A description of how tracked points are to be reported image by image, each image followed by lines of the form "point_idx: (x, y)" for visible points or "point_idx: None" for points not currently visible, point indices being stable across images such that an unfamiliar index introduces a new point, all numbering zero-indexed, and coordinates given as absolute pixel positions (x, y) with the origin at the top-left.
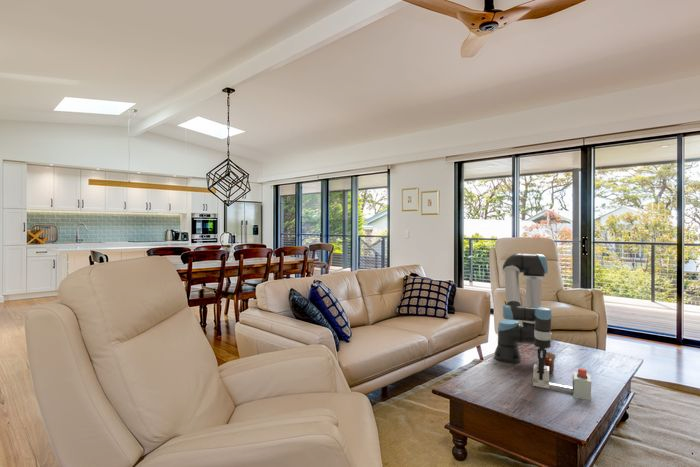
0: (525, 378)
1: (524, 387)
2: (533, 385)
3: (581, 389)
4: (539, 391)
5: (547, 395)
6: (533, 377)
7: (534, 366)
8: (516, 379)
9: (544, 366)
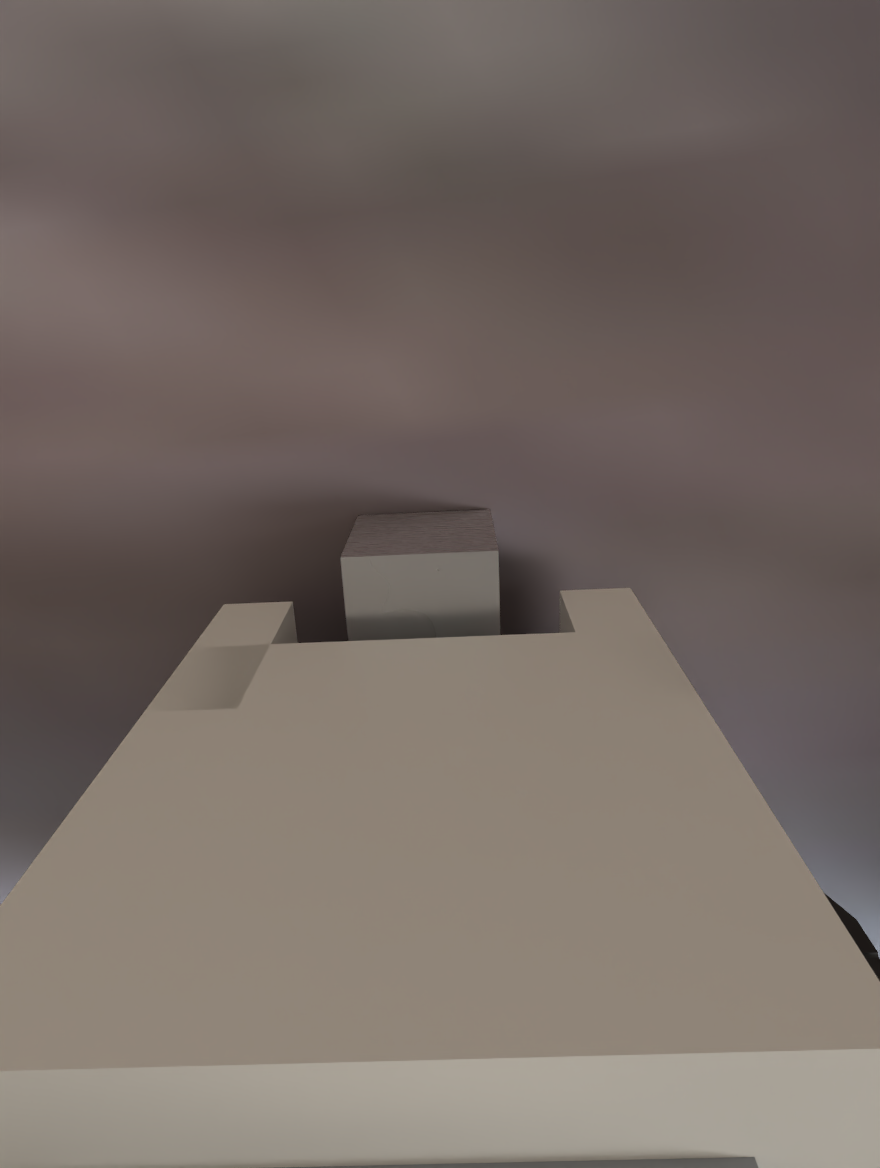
0: (849, 314)
1: (118, 374)
2: (227, 614)
3: None
4: (118, 729)
5: (17, 879)
6: (131, 732)
7: (337, 1089)
8: (627, 36)
9: None
